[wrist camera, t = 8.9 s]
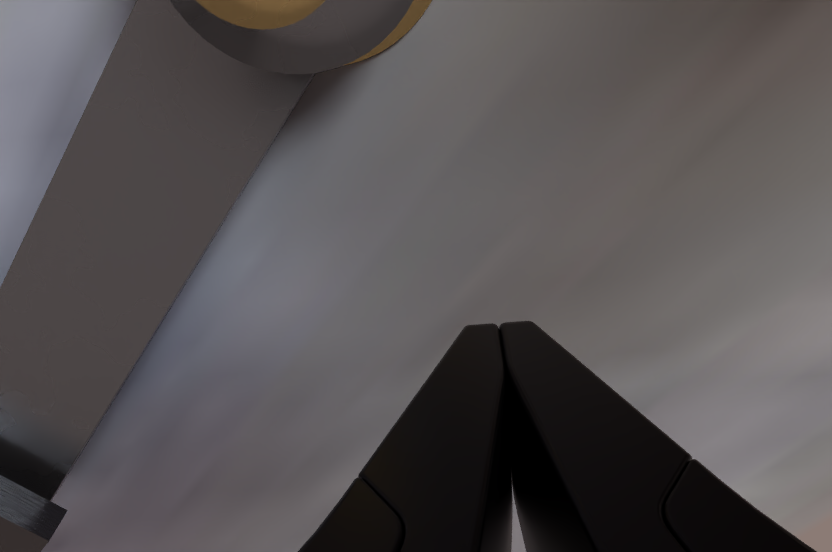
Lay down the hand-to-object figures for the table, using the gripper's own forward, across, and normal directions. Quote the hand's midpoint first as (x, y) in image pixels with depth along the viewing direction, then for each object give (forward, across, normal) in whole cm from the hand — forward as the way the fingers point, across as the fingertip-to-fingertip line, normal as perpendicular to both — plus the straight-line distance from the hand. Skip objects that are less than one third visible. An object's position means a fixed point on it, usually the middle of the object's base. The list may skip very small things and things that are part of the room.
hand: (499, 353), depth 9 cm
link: (+12, +9, +2) cm, 15 cm away
